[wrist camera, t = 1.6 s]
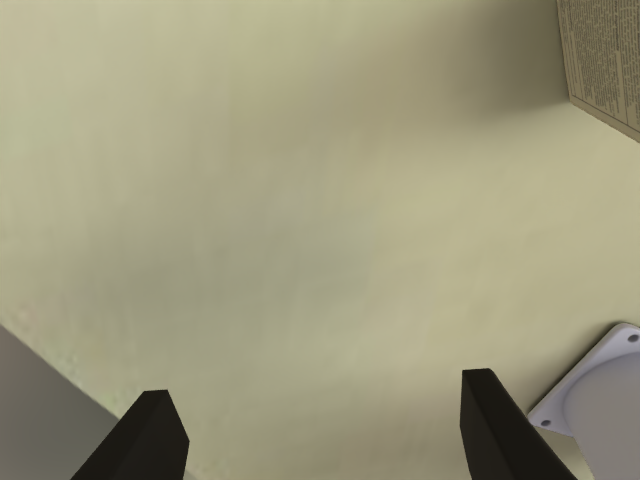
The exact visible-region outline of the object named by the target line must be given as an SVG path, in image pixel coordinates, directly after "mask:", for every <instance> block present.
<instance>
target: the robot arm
mask: <svg viewBox="0 0 640 480" xmlns="http://www.w3.org/2000/svg"><path fill="white" fill-rule="evenodd" d="M631 335H632V336H631ZM527 418H528V419H527ZM527 418H526V417H525V415H524V414H523V413H522V411H521V410H520V409H519V407H518V406H517V405H516V403H515V402H514V401H513V399H512V398H511V396H510V395H509V394H508V392H507V391H506V389H505V388H504V387H503V385H502V384H501V382H500V381H499V379H498V378H497V376H496V375H495V373H494V372H493V371H492V370H491V369H489V368H486V369H471V370H463V371H462V391H461V412H460V430H461V434H462V439H463V444H464V449H465V453H466V458H467V463H468V467H469V471H470V474H471V478H472V480H578V479H577V478H576V477H575V476H574V475H573V474H572V473H571V472H570V470H569V469H568V468H567V467H566V466H565V465H564V463H563V462H562V461H561V460H560V459H559V458H558V456H557V455H556V454H555V453H554V452H553V450H552V449H551V448H550V447H549V446H548V444H547V443H546V442H545V441H544V439H543V438H542V437H541V436H540V435H539V433H538V432H537V431H536V430H535V428H534V427H533V426H532V425H534V426H537V427H540V428H543V429H547V430H550V431H553V432H557V433H560V434H563V435H566V436H570V437H573V438H574V439H575V441H576V443H577V445H578V447H579V449H580V451H581V453H582V455H583V457H584V459H585V461H586V463H587V465H588V467H589V469H590V471H591V473H592V475H593V477H594V479H595V480H640V328H639V327H636V326H634V325H631V324H628V323H620V324H618V325H616V326H614V327H613V328H612V329H611V330H610V331H609V332H608V333H607V334H606V335H605V336H604V337H603V338H602V339H601V340H600V341H599V342H598V343H597V344H596V345H595V346H594V347H593V348H592V349H591V350H590V351H589V352H588V353H587V354H586V356H585V357H584V358H583V359H582V360H581V361H580V362H579V363H578V364H577V365H576V366H575V367H574V368H573V369H572V370H571V371H570V372H569V373H568V374H567V375H566V376H565V377H564V378H563V379H562V380H561V381H560V382H559V383H558V384H557V385H556V386H555V387H554V388H553V389H552V390H551V391H550V392H549V393H548V394H547V395H546V396H545V397H544V398H543V399H542V400H541V401H540V402H539V403H538V404H537V405H536V406H535V407H534V408H533V409H532V410H531V411H530V412H529V414H528V415H527ZM189 442H190V441H189V438H188V436H187V434H186V432H185V429H184V427H183V425H182V422H181V420H180V418H179V415H178V413H177V411H176V408H175V406H174V404H173V401H172V399H171V397H170V394H169V392H168V390H153V391H144V392H143V393H142V394H141V395H140V396H139V398H138V399H137V400H136V401H135V402H134V404H133V405H132V406H131V407H130V408H129V410H128V411H127V412H126V413H125V415H124V416H123V417H122V418H121V419H120V421H119V422H118V423H117V424H116V426H115V427H114V428H113V429H112V431H111V432H110V433H109V434H108V435H107V437H106V438H105V439H104V440H103V441H102V443H101V444H100V445H99V446H98V448H97V449H96V450H95V451H94V452H93V453H92V455H91V456H90V457H89V458H88V459H87V461H86V462H85V463H84V464H83V465H82V466H81V468H80V469H79V470H78V471H77V472H76V473H75V475H74V476H73V477H72V478H71V480H183V476H184V471H185V466H186V460H187V454H188V448H189Z"/></svg>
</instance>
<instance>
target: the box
mask: <svg viewBox="0 0 640 480" xmlns="http://www.w3.org/2000/svg"><path fill="white" fill-rule="evenodd" d="M557 9H558V19H559V26H560V34H561V41H562V49H563V57H564V65H565V72H566V79H567V85H568V91H569V97H570V102H571V103H572V104H573V105H575V106H577V107H578V108H580V109H582V110H584V111H585V112H587V113H589V114H590V115H592V116H594V117H595V118H597V119H599V120H601V121H602V122H604V123H606V124H608V125H609V126H611V127H613V128H614V129H616V130H618V131H620V132H621V133H623V134H625V135H626V136H628V137H630V138H631V139H633V140H635V141H637V142H638V143H640V0H557Z"/></svg>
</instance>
